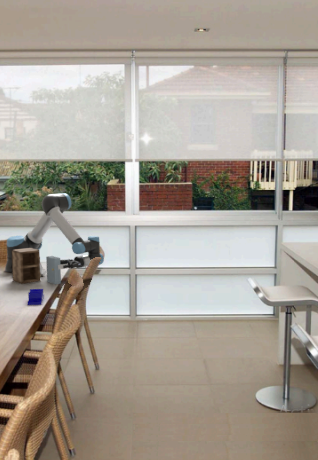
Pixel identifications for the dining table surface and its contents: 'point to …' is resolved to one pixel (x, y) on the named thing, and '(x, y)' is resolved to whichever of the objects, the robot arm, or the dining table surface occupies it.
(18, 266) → the cabinet
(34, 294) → the mounting bracket
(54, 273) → the upright grey-blue slab
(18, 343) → the dining table surface
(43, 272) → the white rounded housing
